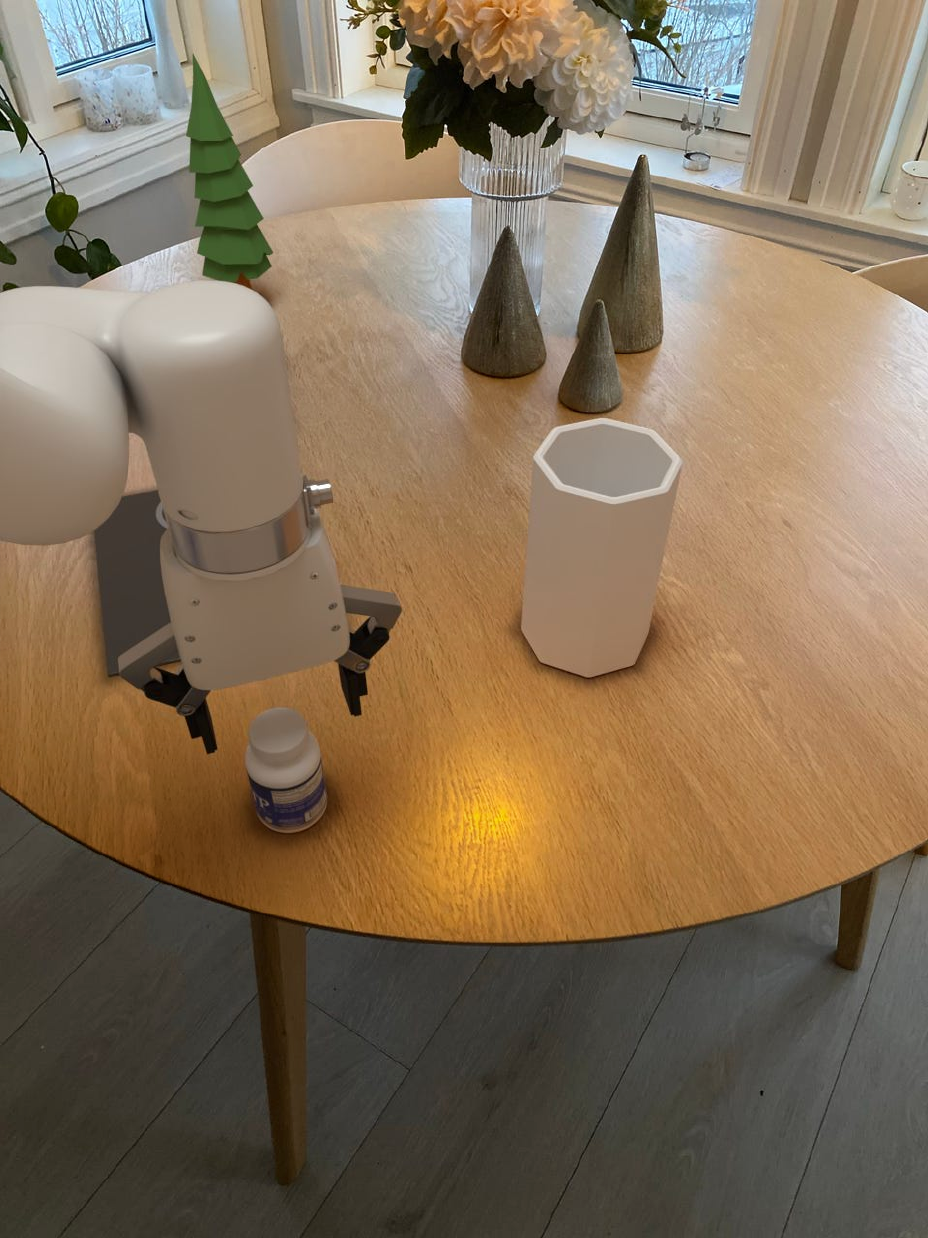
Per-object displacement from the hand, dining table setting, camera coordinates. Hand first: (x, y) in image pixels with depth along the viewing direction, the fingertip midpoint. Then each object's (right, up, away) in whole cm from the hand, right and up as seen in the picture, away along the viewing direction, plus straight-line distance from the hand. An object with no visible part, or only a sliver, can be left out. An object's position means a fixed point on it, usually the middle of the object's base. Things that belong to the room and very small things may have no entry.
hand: (281, 718), depth 64 cm
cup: (+23, +5, +20) cm, 31 cm away
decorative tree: (-17, +49, +65) cm, 83 cm away
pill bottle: (-1, -7, +7) cm, 10 cm away
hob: (-12, +12, +27) cm, 32 cm away
